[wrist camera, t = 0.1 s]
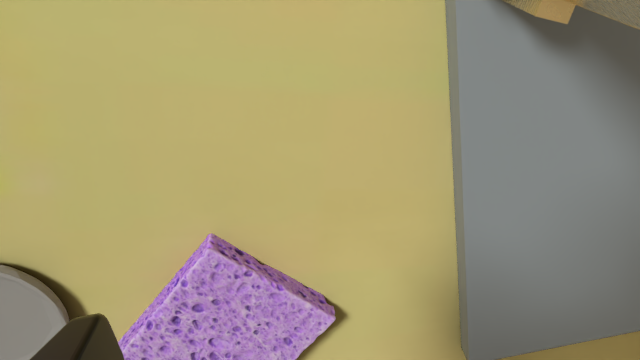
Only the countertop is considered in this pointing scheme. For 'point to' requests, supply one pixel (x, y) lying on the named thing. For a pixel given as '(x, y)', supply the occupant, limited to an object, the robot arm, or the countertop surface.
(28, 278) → the pocket watch
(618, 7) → the gear
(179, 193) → the countertop surface
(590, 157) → the gear board
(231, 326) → the sponges
